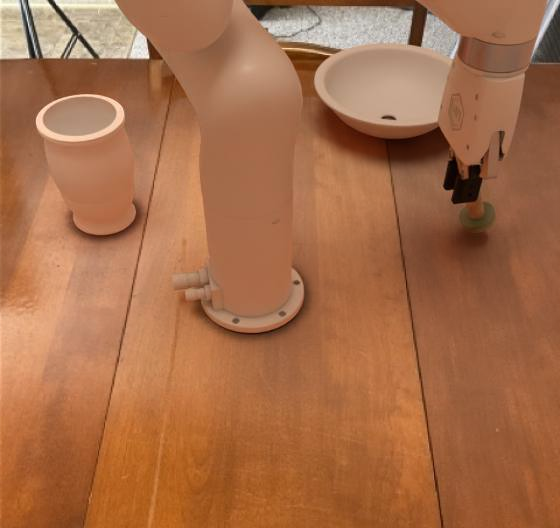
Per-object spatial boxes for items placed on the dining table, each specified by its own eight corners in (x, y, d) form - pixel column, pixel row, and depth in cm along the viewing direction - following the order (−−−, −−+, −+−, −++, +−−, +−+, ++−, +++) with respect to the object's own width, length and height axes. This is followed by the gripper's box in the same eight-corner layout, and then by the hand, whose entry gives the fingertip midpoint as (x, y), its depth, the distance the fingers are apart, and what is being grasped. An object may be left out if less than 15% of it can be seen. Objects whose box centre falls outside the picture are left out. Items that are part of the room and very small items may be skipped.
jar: (159, 210, 93) (142, 109, 82) (107, 252, 88) (80, 150, 76) (102, 184, 97) (78, 84, 85) (49, 222, 92) (15, 121, 80)
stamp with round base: (461, 236, 87) (440, 151, 77) (459, 211, 90) (439, 125, 79) (496, 229, 86) (481, 142, 75) (494, 204, 88) (478, 116, 77)
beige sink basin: (281, 114, 108) (281, 74, 103) (389, 67, 118) (394, 28, 113) (387, 186, 97) (393, 145, 92) (497, 127, 106) (508, 87, 101)
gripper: (434, 14, 74) (409, 161, 88) (491, 90, 64) (453, 240, 79) (499, 8, 75) (464, 154, 89) (565, 81, 65) (514, 231, 79)
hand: (459, 193), depth 84 cm, fingers closed on stamp with round base, 2 cm apart
